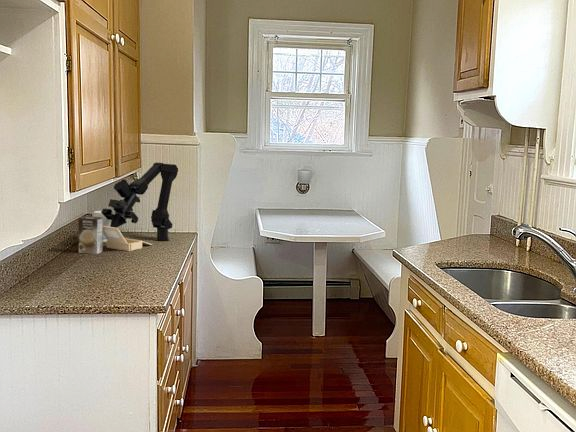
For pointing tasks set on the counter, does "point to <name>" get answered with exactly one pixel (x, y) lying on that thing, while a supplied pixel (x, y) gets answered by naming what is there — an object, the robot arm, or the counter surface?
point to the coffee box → (90, 235)
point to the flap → (113, 234)
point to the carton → (126, 245)
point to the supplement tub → (104, 222)
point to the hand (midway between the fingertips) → (110, 230)
